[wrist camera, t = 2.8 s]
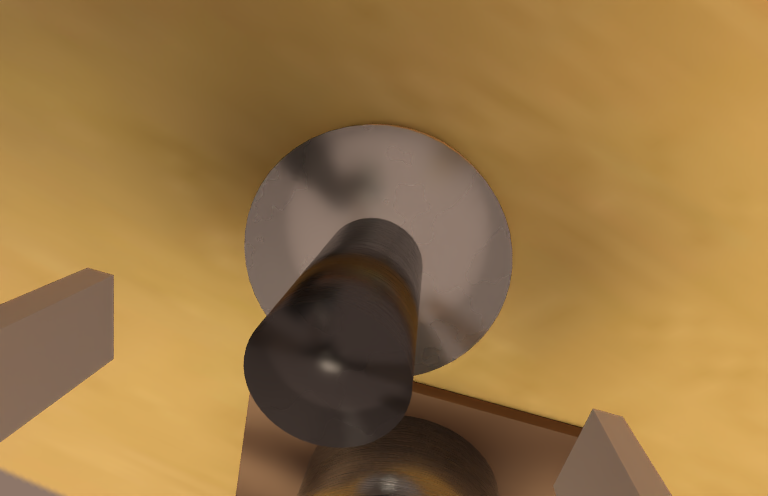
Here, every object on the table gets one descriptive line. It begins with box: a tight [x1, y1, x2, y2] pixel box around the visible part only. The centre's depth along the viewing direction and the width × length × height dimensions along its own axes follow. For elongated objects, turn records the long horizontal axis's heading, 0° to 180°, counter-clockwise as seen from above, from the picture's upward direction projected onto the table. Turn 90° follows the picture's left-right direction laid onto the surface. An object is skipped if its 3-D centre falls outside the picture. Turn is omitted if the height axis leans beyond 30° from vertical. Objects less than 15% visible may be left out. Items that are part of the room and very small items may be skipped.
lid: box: [244, 124, 512, 448], centre depth 15 cm, size 12×12×10 cm
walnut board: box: [236, 382, 583, 496], centre depth 23 cm, size 15×19×1 cm
